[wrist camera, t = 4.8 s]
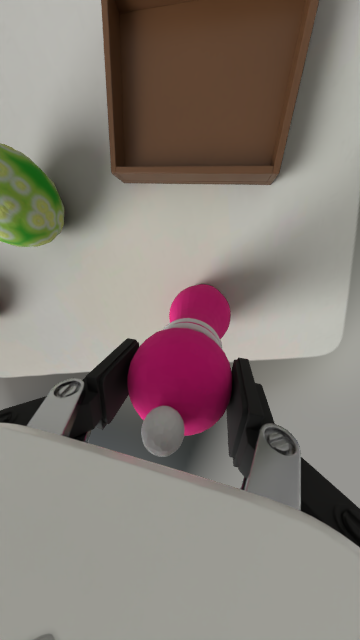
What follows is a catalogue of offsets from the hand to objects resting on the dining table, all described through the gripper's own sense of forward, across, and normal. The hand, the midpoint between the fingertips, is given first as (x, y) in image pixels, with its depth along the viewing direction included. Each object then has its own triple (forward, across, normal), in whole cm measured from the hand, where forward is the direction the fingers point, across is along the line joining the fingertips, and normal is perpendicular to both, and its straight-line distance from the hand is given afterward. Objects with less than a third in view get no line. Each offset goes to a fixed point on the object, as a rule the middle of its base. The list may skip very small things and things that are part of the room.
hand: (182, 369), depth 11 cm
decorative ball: (+15, +23, -11) cm, 30 cm away
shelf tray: (+15, +3, -21) cm, 26 cm away
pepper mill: (+15, 0, 0) cm, 15 cm away
